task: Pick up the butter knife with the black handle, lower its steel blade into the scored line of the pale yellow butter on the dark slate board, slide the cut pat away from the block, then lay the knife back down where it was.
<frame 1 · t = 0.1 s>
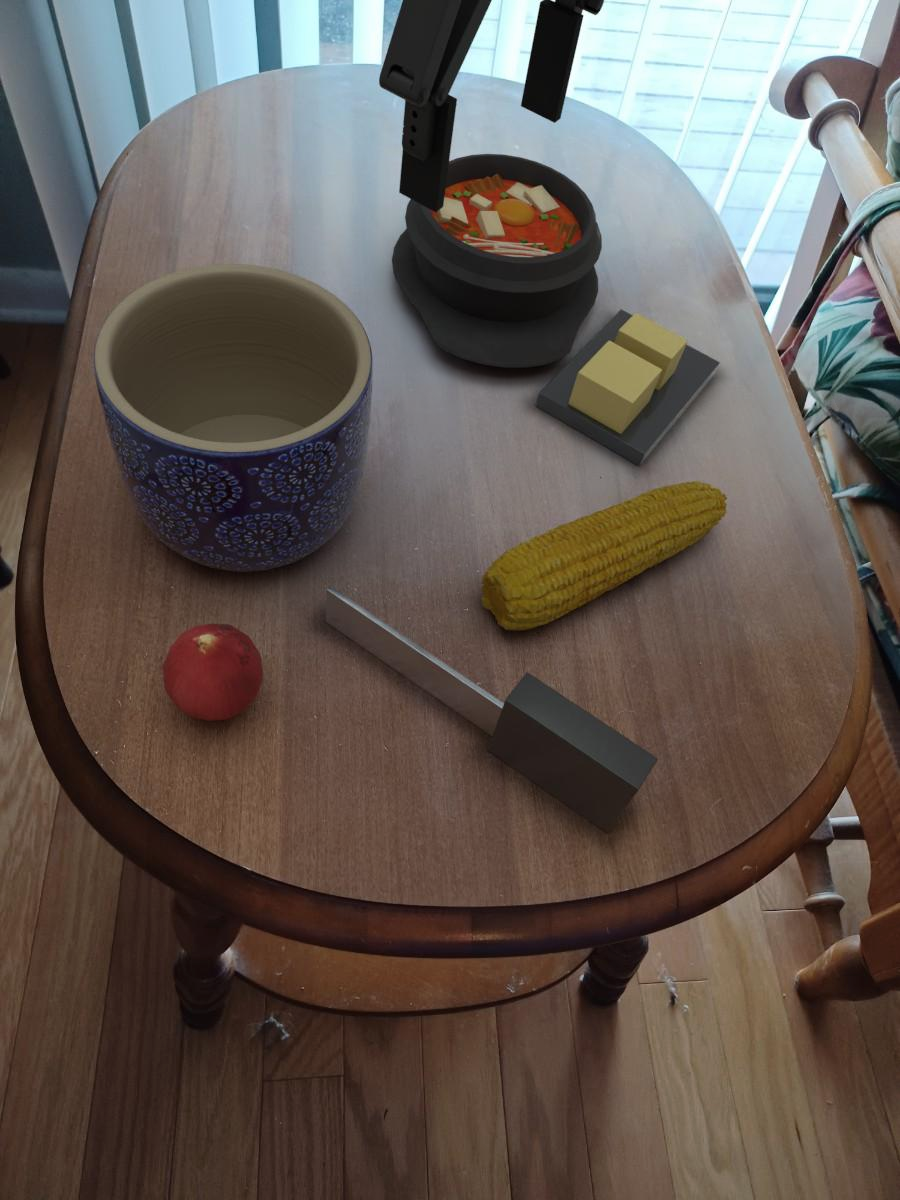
hand: (484, 154, 60), 21 cm above the table, tool pointing down, fingers open, 13 cm apart
board: (627, 390, 81), on the table
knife: (555, 776, 60), on the table
casserole: (492, 288, 86), on the table
butter block: (609, 402, 78), point 1 cm above the table, touching board
onion: (219, 701, 61), on the table
butter pat: (641, 367, 80), point 1 cm above the table, touching board
planter: (249, 508, 69), on the table
food: (597, 570, 70), on the table
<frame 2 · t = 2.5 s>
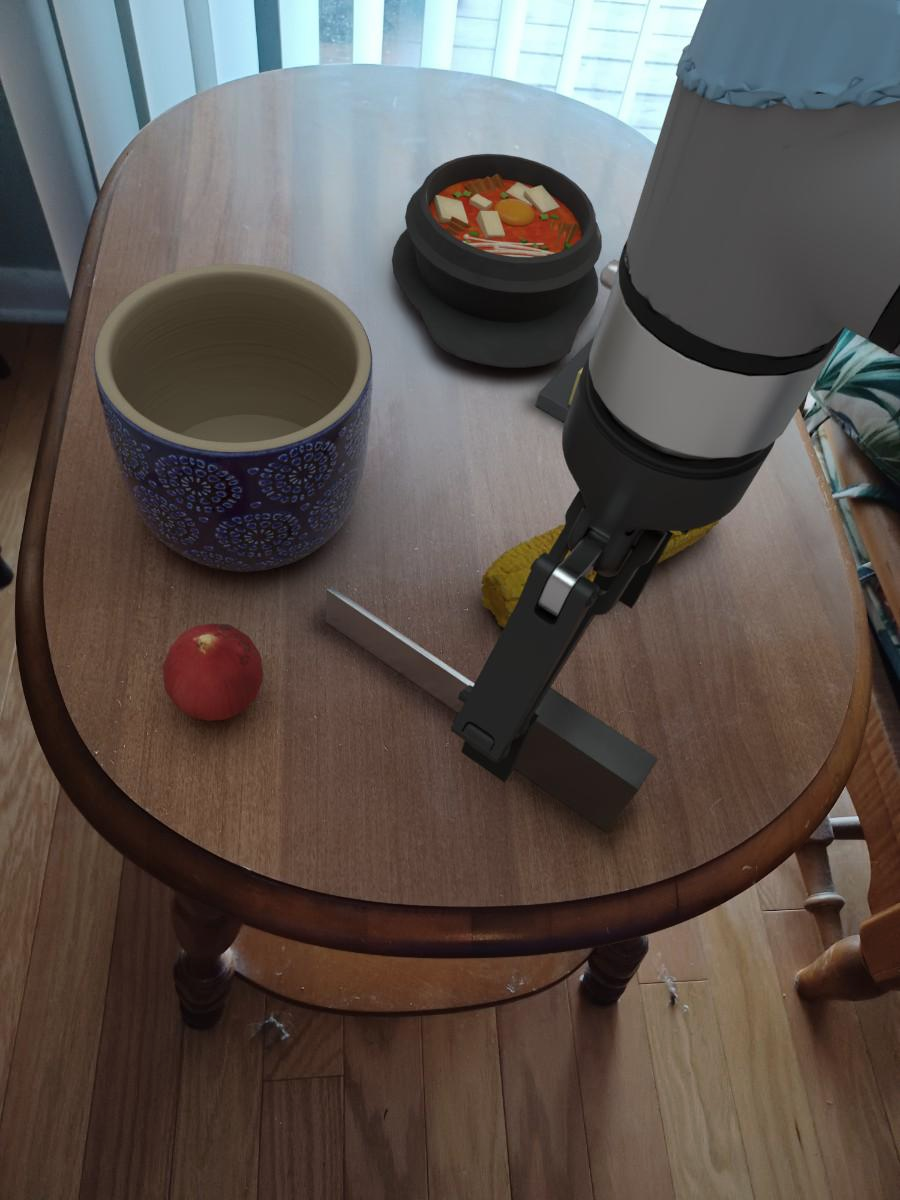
hand: (554, 671, 52), 11 cm above the table, tool pointing down, fingers open, 13 cm apart
nothing on the table moved.
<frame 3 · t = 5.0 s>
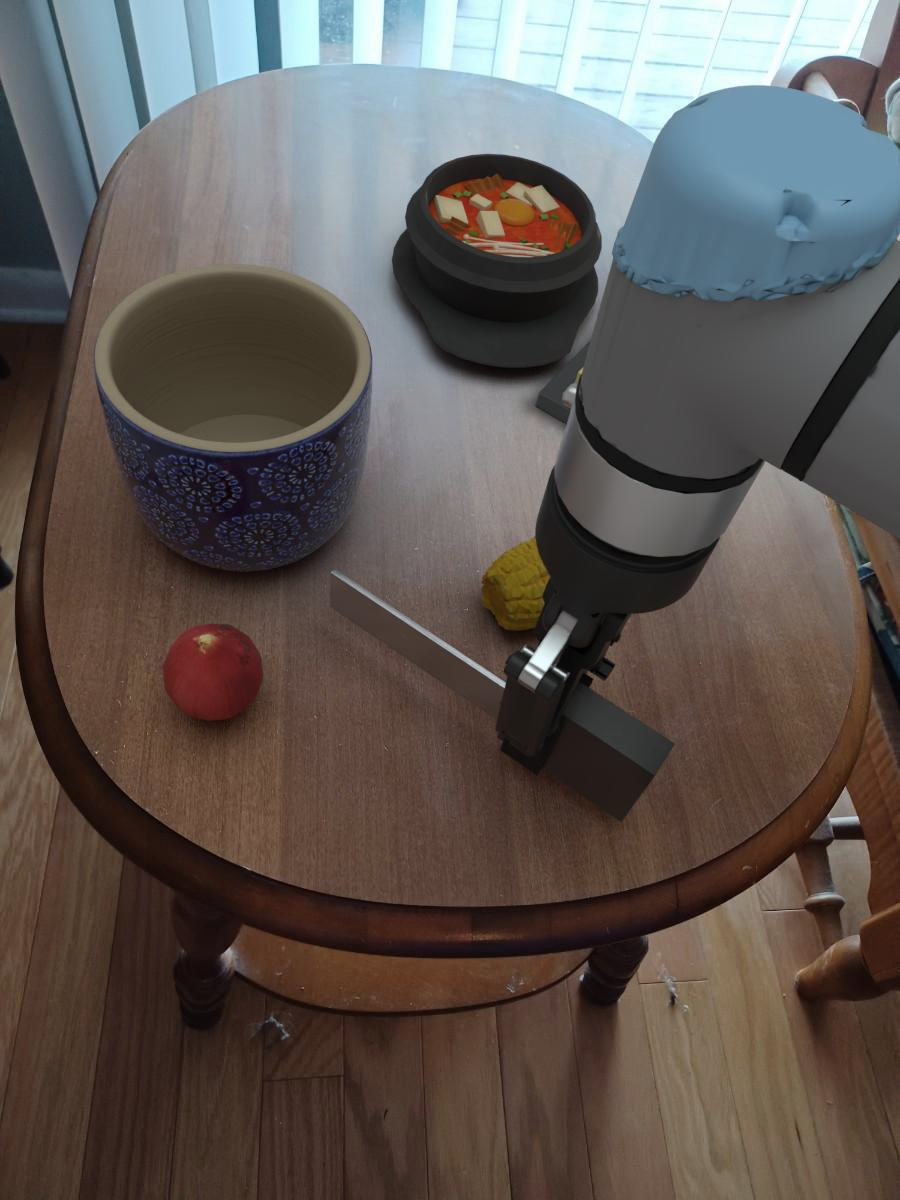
hand: (535, 739, 59), 3 cm above the table, tool pointing down, fingers closed on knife, 2 cm apart
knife: (567, 765, 58), point 2 cm above the table, touching gripper
everything else where it was.
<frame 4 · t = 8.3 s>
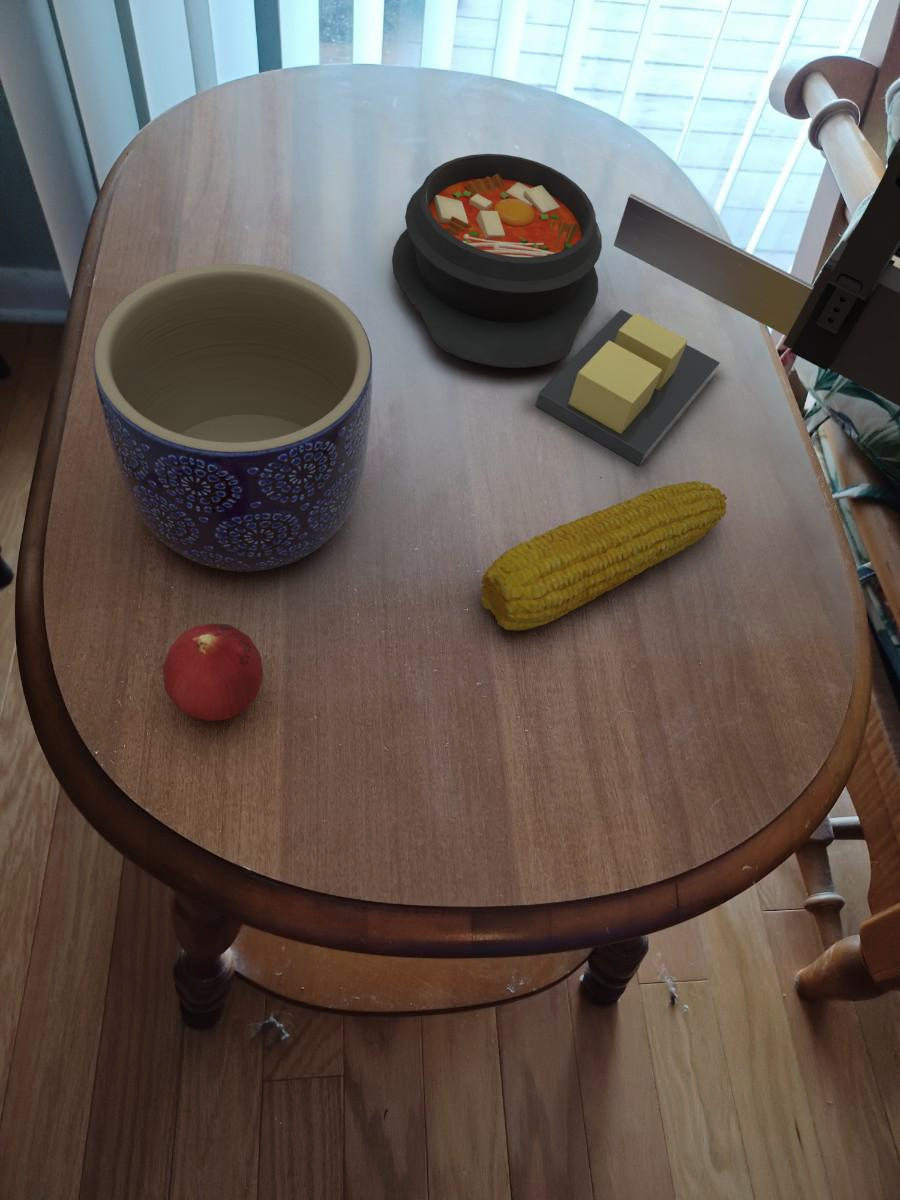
hand: (819, 346, 64), 15 cm above the table, tool pointing down, fingers closed on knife, 2 cm apart
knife: (848, 367, 64), point 14 cm above the table, touching gripper
everything else where it was.
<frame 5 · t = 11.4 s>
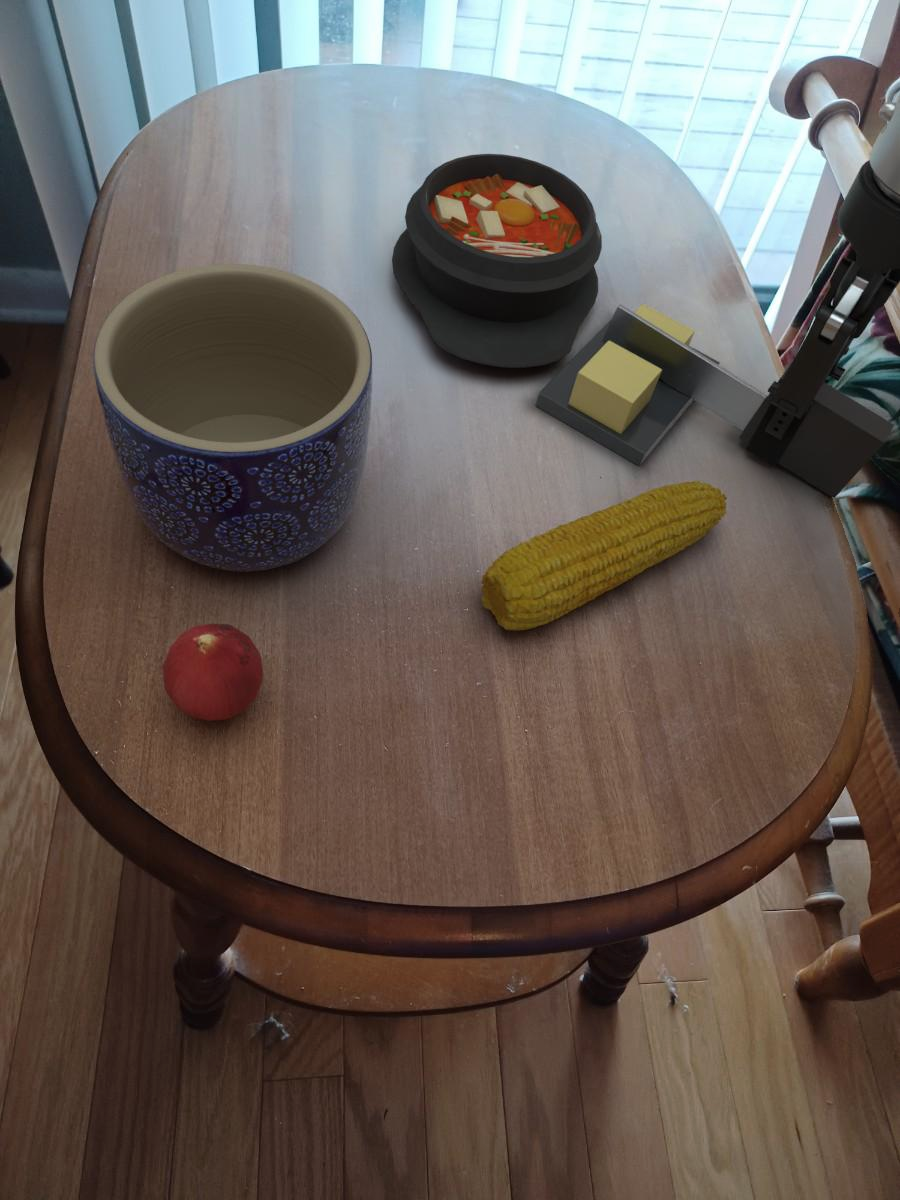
hand: (769, 443, 78), 1 cm above the table, tool pointing down, fingers closed on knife, 2 cm apart
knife: (791, 459, 78), point 1 cm above the table, tilted 5°, touching board, butter pat, gripper
butter pat: (648, 358, 81), point 2 cm above the table, touching board, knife
everything else where it was.
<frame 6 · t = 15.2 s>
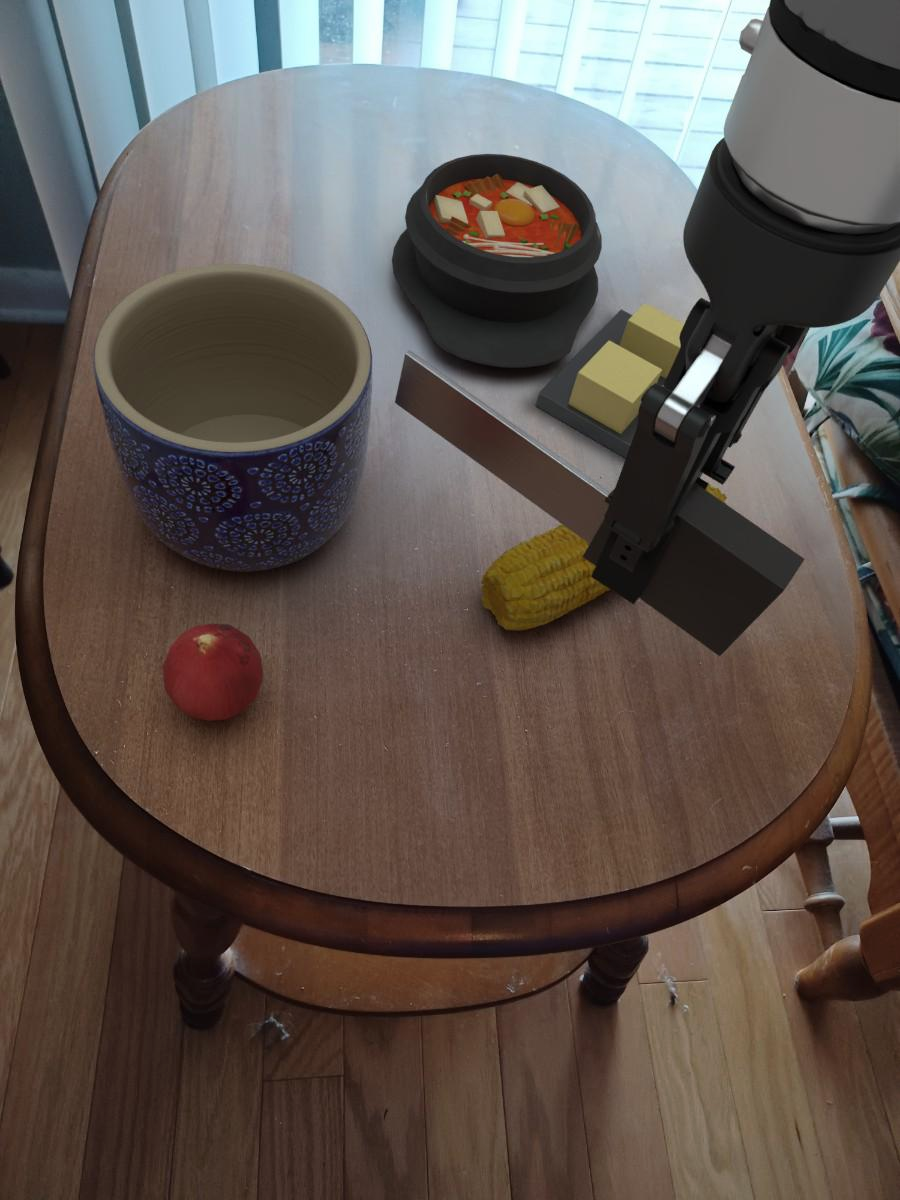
hand: (630, 567, 52), 15 cm above the table, tool pointing down, fingers closed on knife, 2 cm apart
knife: (660, 592, 52), point 14 cm above the table, tilted 5°, touching gripper
butter pat: (650, 357, 81), point 1 cm above the table, touching board
everything else where it was.
when the fingers open (0 cm above the table, at t = 18.7 s): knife stays where it is, on the table.
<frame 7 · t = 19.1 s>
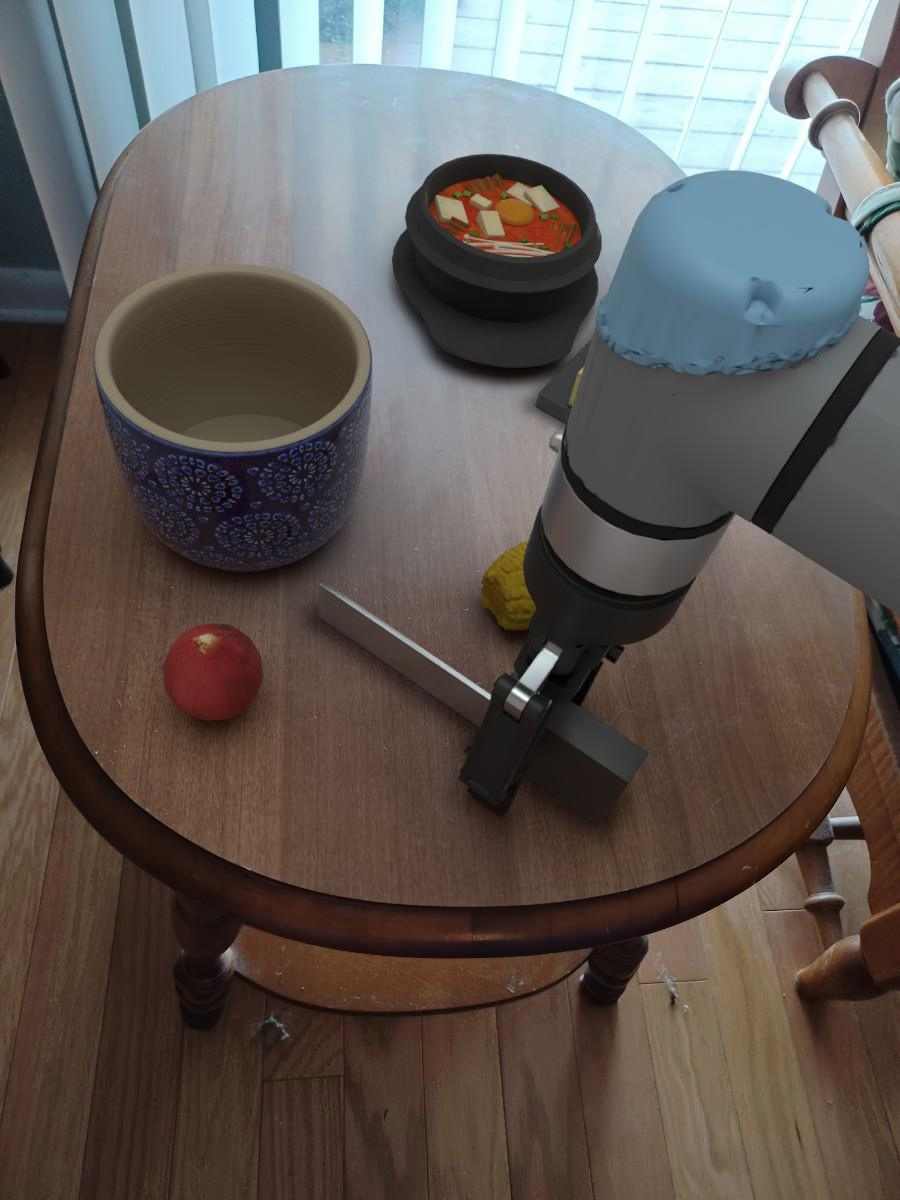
hand: (524, 749, 60), 1 cm above the table, tool pointing down, fingers open, 8 cm apart
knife: (547, 771, 60), on the table
everything else where it was.
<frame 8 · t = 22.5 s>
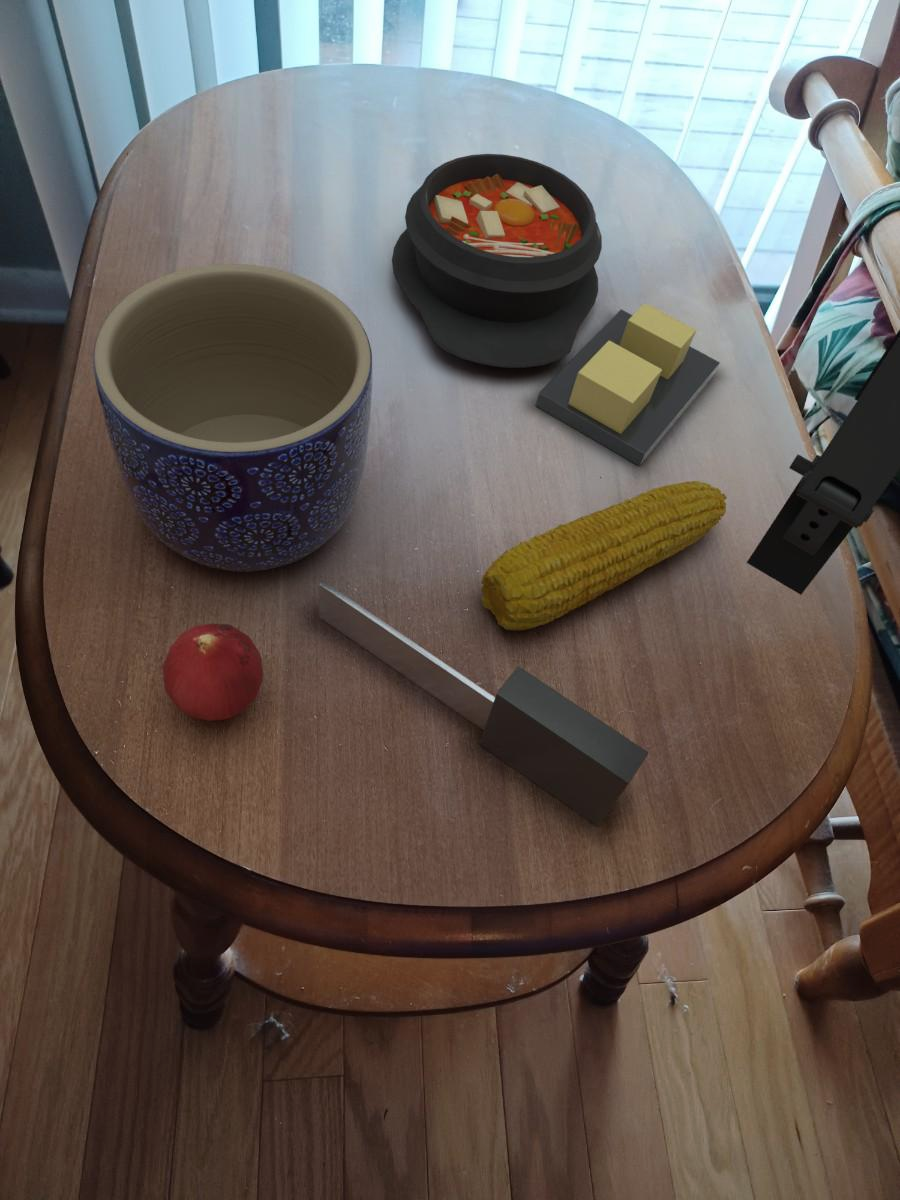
hand: (832, 485, 46), 23 cm above the table, tool pointing down, fingers open, 13 cm apart
nothing on the table moved.
at the end: butter pat 1.5 cm from the target spot on the board, point 1.5 cm above the board's base; butter block moved 0.0 cm from its start; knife 0.6 cm from the target spot, on the table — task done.
